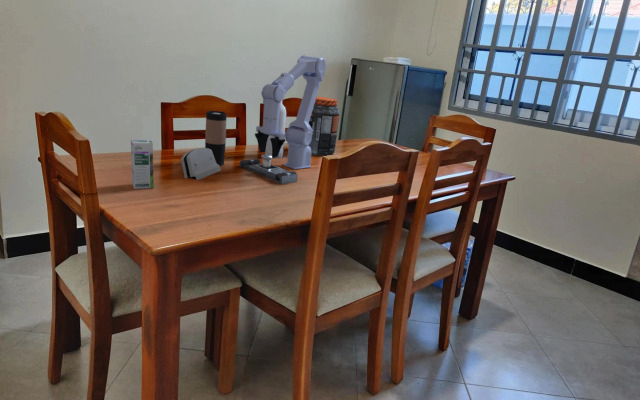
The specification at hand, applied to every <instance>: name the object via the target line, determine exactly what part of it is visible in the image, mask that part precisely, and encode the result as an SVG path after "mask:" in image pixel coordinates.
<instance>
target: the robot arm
mask: <svg viewBox="0 0 640 400" xmlns="http://www.w3.org/2000/svg"><path fill="white" fill-rule="evenodd" d="M296 61H297V62H296V64H295V65H294V66H293V67H292V69H290V70H289V71H288V72H281V73H280V75H279V76H278V77H277V78H275V79H273V81H272V82H271V83H266V84H265V85H264V86H263V87H262V90H261V97H262V103H263V118H262V119H263V120H262V126H258V125H257V126H256V127H255V129H256V130H255V132H256V133H254V137H255V138H256V141H257V145H258V150H259V153H265V150H266V144H267V140H268V137H269V135H270V136H273V137H275V138H270V140H271V144H272V157H278V154H279V151H280V149H281V147H282V145H283V143H284V144H285V142H286V143H287V145H288V148H287V149H288V150H287V157H286V158H287V160H286V161H287V162H285V163H282V166H285V167H287V168H289V169H292V170H300V169H308V168H312V165H311V159H312V154H311V148H310V147H309V146H308V145H309V144H310V143H311V140H312V131H313V130H312V128H311V126H310V125H309V120H310V117H311V113H312V110H313V107H314V103H315V100H316V97H318V94H319V93H318V92H319V89H320V86H321V83H322V82H323V79H324V78H325V73H326V69H327V64H326V61H325V58H324V57H316V56H309V55H305V54H304V55H303V54H302V55H301V56H300V57H298V59H297V60H296ZM301 76H302V78H303V79H304V80H305V81H306V85H305V88H304V92H303V95H302V99H301V102H300V105H299V108H298V112H297V116H296V118H295V120H293V121H291V122H290V123H289V125H288V128H287V129H286V130H285V134H283V133H282V132H280V131H278V127H279V114H280V101H282V100H283V101H284V98H285V96H286V95H287V92H289V90H290V89H291V88H292V87H294V84H295V81H296V80H297V79H299V77H301ZM283 101H282V102H283Z"/></svg>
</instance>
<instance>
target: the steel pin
mask: <svg viewBox="0 0 640 400" xmlns="http://www.w3.org/2000/svg"><path fill="white" fill-rule="evenodd" d="M261 159H262V163H261V164H262V168H265V169H270V167H271V164H272V163H271V162H272V159H273V158H272V155H267V154H265V153H263V154H261Z"/></svg>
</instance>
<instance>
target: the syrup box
mask: <svg viewBox="0 0 640 400" xmlns="http://www.w3.org/2000/svg"><path fill="white" fill-rule="evenodd" d="M130 151H131V152H130V155H131V157H130V158H131V179H132V180H131V183H132V186H133V189H134V190H137V189H139V190H141V189H154V187H155V185H154V184H155V183H154V143H153V141H152V139H133V138H132V139H130Z"/></svg>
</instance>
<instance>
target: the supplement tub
mask: <svg viewBox="0 0 640 400" xmlns="http://www.w3.org/2000/svg"><path fill="white" fill-rule="evenodd" d="M339 119H340V109H339V108H338V99H336V98H332V97H327V96H317V97H316V100H315V103H314V107H313V110H312V113H311V117H310V120H309V125H310V126H311V128H312V130H313V131H312V140H311V143H310V144H309V145H308V146H309V147H310V148H311V155H314V156H323V157H324V156H325V155H326V156H332V155H334V154H335V151H336V144H337V143H336V142H337V137H338V129H339ZM331 154H332V155H331Z"/></svg>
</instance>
